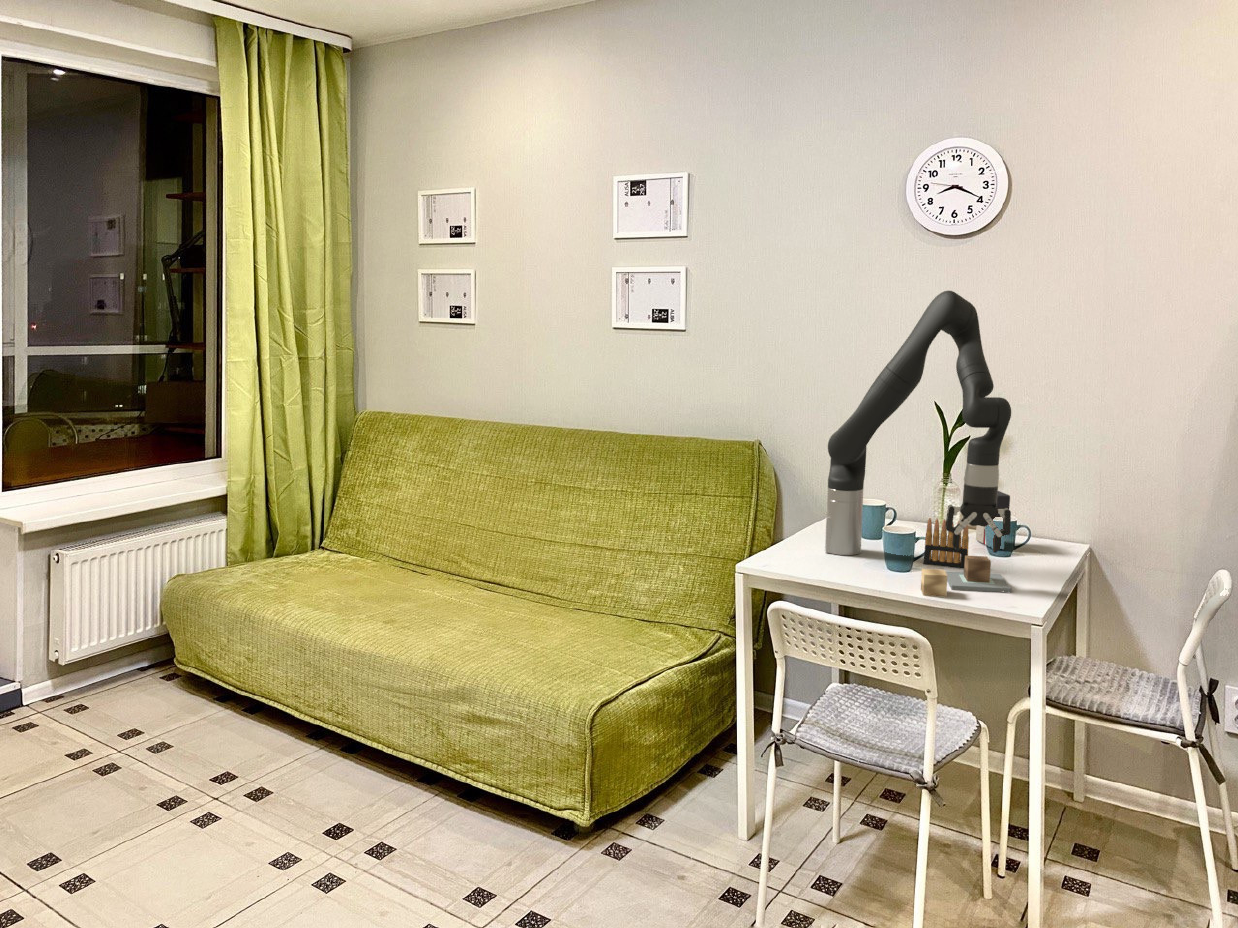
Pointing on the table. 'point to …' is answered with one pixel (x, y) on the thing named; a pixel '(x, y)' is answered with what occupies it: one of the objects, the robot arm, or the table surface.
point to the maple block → (933, 582)
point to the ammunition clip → (944, 547)
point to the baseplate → (977, 583)
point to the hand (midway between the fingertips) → (975, 550)
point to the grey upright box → (1002, 503)
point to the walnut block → (977, 569)
